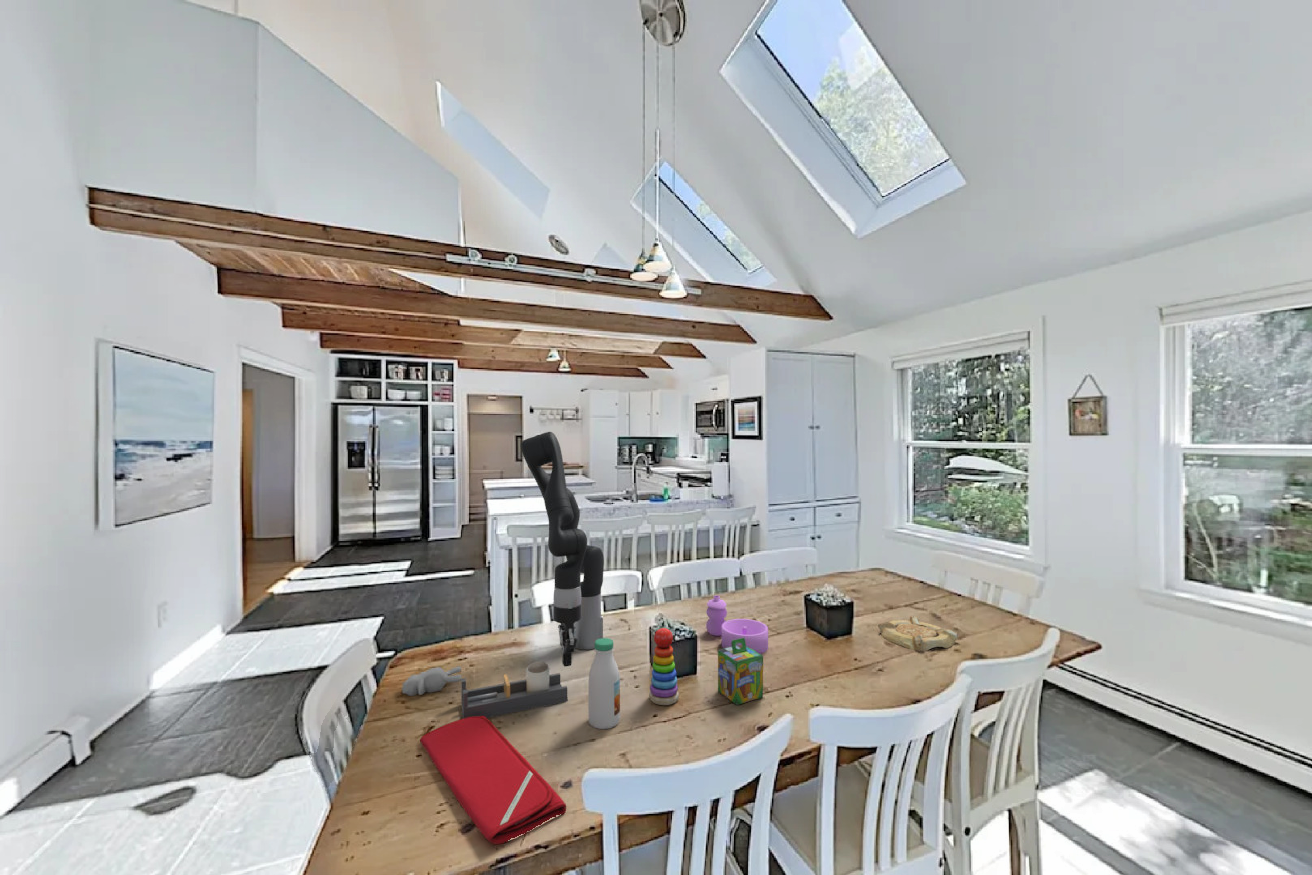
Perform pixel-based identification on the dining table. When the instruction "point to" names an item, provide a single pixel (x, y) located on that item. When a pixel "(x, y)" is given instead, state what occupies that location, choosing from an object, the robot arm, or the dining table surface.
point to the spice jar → (537, 677)
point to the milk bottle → (604, 687)
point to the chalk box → (740, 673)
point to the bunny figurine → (430, 681)
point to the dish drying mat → (491, 779)
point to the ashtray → (917, 634)
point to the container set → (735, 627)
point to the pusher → (494, 695)
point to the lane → (511, 698)
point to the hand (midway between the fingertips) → (566, 665)
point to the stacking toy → (663, 670)
